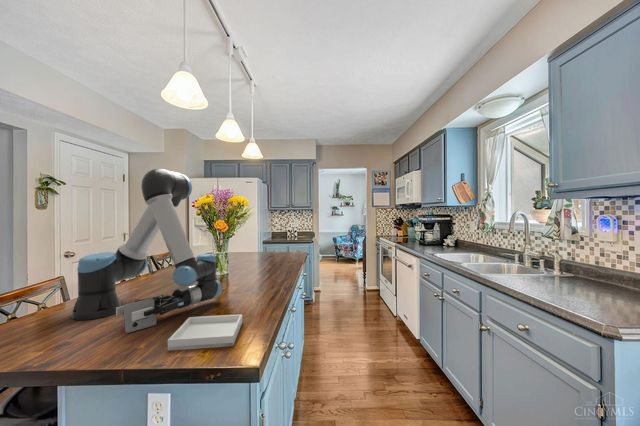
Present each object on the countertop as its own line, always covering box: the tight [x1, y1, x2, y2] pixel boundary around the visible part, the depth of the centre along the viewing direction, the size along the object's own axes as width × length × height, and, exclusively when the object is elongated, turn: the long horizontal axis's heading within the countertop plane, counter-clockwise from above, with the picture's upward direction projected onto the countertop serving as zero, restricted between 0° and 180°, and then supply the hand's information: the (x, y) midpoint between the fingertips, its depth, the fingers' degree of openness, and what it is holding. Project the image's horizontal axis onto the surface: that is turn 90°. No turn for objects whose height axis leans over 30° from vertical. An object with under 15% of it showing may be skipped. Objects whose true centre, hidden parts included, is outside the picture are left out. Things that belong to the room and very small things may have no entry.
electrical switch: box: [122, 299, 157, 334], centre depth 96 cm, size 9×5×9 cm, turn 141°
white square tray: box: [167, 313, 243, 352], centre depth 89 cm, size 18×18×3 cm
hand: (124, 314), depth 92 cm, fingers open, 9 cm apart
